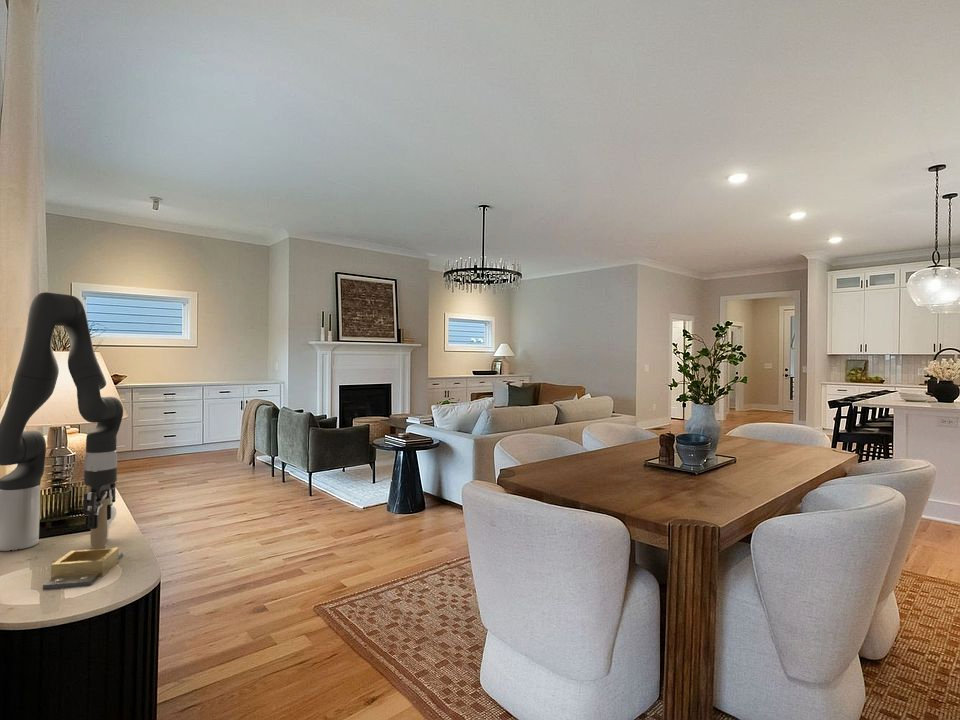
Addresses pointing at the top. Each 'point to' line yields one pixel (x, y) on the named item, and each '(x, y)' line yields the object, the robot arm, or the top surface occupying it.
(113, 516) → the lightbulb
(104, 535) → the handle
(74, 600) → the top surface
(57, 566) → the wooden frame on plate
